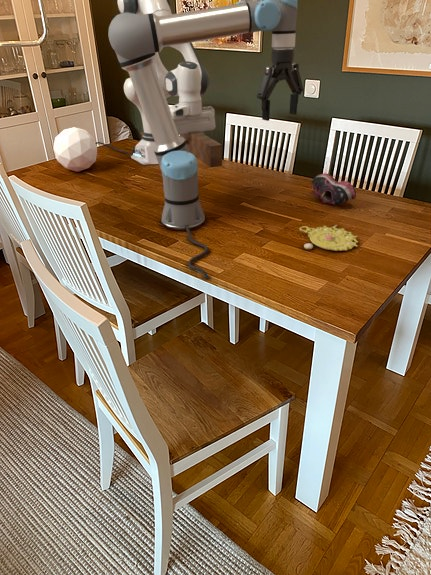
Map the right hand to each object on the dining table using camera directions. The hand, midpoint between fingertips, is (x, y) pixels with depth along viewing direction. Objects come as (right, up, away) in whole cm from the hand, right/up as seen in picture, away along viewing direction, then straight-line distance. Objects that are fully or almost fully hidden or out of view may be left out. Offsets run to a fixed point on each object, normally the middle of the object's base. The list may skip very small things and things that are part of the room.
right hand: (279, 117), depth 155 cm
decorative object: (+14, -45, -14) cm, 49 cm away
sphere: (-87, -4, +55) cm, 103 cm away
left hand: (-32, -1, +26) cm, 42 cm away
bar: (-28, -8, +20) cm, 36 cm away
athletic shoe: (+20, -27, +14) cm, 36 cm away
